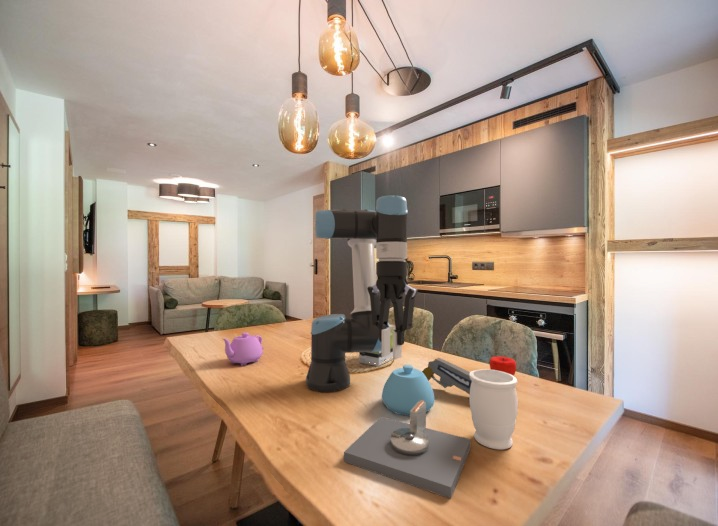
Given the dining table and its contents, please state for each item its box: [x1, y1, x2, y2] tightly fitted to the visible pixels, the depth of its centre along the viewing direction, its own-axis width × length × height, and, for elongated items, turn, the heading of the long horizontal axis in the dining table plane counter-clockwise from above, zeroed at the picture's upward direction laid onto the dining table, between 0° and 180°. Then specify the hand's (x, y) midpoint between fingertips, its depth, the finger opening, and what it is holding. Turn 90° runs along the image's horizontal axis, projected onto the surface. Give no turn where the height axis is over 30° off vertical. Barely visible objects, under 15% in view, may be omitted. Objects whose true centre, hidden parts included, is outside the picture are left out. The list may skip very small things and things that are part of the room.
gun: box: [421, 357, 472, 395], centre depth 104 cm, size 3×25×15 cm, turn 47°
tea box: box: [358, 324, 396, 367], centre depth 139 cm, size 15×10×15 cm, turn 147°
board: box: [343, 416, 471, 499], centre depth 70 cm, size 22×18×2 cm
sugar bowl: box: [381, 364, 435, 417], centre depth 95 cm, size 15×15×12 cm
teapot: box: [222, 332, 264, 367], centre depth 136 cm, size 20×14×12 cm
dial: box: [391, 400, 428, 455], centre depth 72 cm, size 13×8×6 cm, turn 151°
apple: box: [489, 356, 517, 376], centre depth 115 cm, size 9×9×8 cm
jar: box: [468, 368, 519, 451], centre depth 76 cm, size 11×10×15 cm
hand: (391, 356), depth 79 cm, fingers open, 3 cm apart
